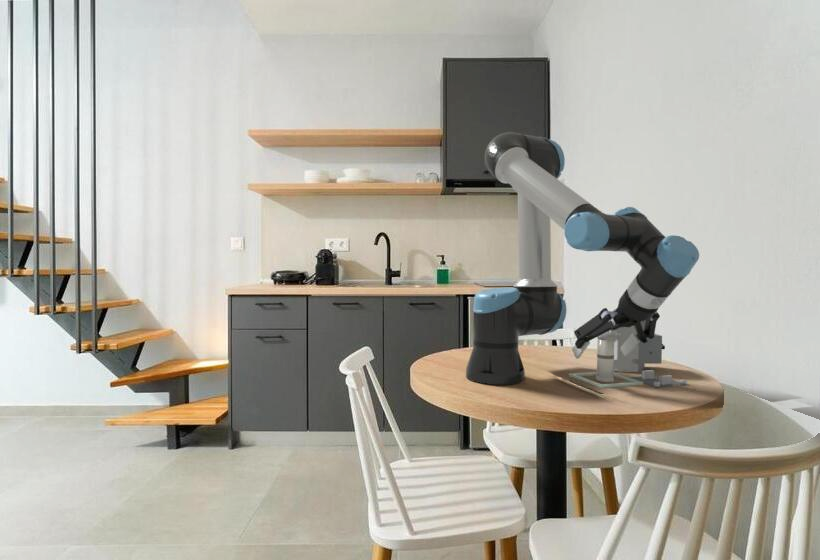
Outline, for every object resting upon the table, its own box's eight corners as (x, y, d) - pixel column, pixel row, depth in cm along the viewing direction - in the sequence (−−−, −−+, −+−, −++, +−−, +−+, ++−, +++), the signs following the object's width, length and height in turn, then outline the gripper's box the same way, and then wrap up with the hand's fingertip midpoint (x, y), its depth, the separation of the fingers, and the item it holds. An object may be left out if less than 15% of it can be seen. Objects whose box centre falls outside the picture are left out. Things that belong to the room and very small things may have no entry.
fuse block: (656, 394, 108) (656, 379, 108) (624, 383, 118) (625, 369, 118) (690, 391, 111) (690, 376, 111) (656, 381, 121) (657, 367, 121)
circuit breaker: (667, 377, 125) (669, 321, 124) (613, 377, 125) (614, 321, 124) (653, 371, 132) (654, 318, 131) (602, 370, 132) (603, 317, 132)
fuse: (603, 384, 113) (604, 335, 112) (592, 380, 117) (593, 332, 116) (617, 383, 114) (618, 334, 113) (606, 379, 118) (607, 332, 117)
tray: (601, 394, 108) (601, 385, 108) (568, 381, 119) (569, 373, 119) (643, 390, 112) (643, 382, 111) (607, 378, 123) (608, 371, 123)
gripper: (599, 312, 97) (559, 367, 112) (701, 310, 102) (650, 363, 118) (585, 285, 102) (549, 342, 117) (682, 285, 107) (636, 339, 123)
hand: (599, 353), depth 117 cm, fingers open, 13 cm apart
